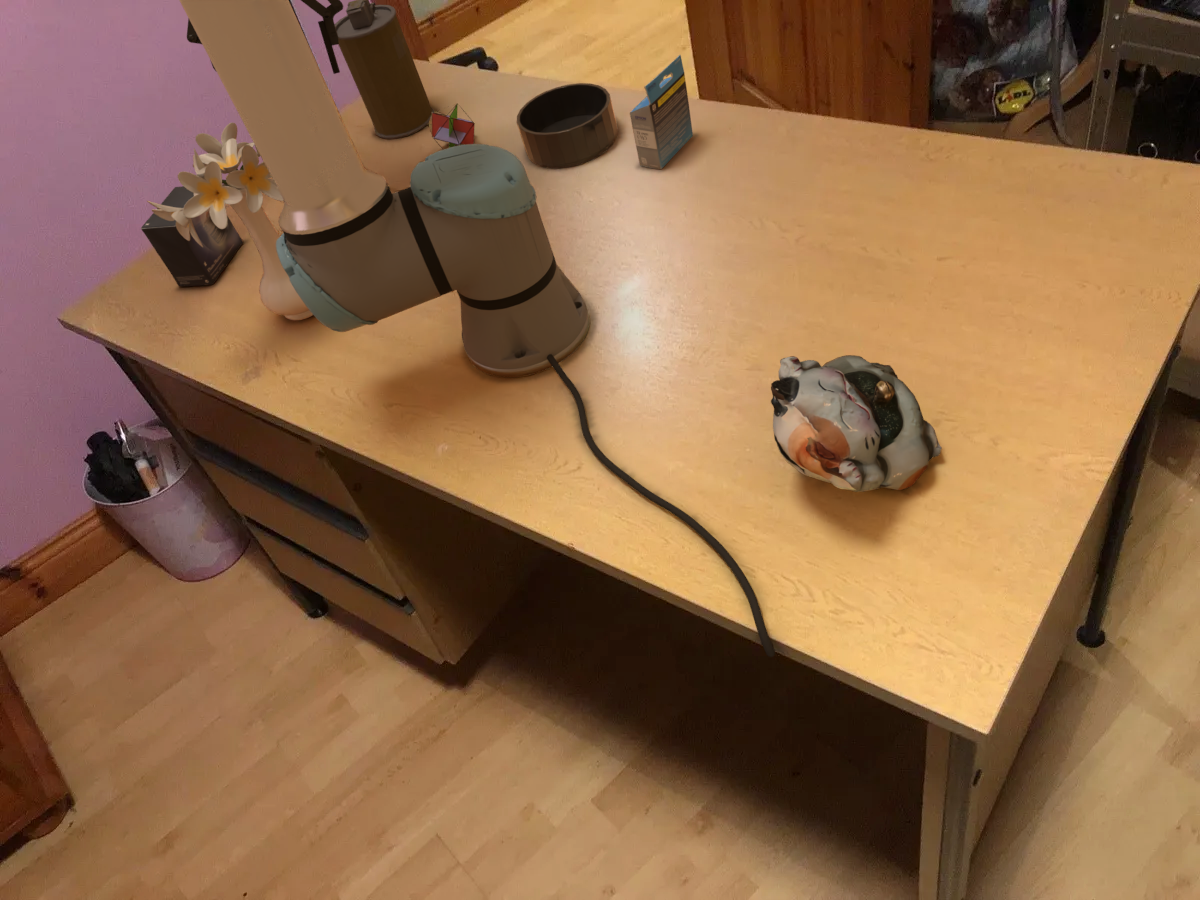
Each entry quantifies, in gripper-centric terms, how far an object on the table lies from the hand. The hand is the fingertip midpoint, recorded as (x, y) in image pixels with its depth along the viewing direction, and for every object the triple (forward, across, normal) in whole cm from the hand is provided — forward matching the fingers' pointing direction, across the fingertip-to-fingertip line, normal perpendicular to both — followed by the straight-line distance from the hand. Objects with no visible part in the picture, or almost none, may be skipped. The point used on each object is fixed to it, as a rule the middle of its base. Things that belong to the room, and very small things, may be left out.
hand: (287, 84), depth 127 cm
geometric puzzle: (+15, -21, -14) cm, 29 cm away
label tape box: (+19, -48, +8) cm, 52 cm away
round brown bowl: (+16, -37, -4) cm, 41 cm away
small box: (+22, +19, -8) cm, 30 cm away
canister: (+10, -14, -29) cm, 34 cm away
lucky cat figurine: (+41, -46, +68) cm, 91 cm away
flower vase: (+27, +6, +12) cm, 30 cm away
